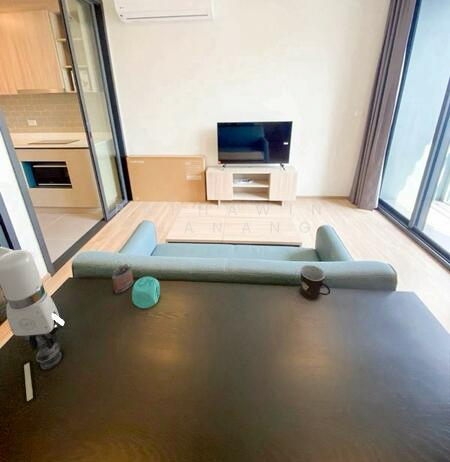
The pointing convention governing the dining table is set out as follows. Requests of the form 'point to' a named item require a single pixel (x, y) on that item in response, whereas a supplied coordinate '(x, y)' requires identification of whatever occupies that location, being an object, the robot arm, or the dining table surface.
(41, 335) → the dark grey chess piece
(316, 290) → the coffee mug
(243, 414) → the dining table surface
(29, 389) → the beige long thin bar
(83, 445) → the dining table surface
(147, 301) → the decorative dice
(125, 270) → the lighter
